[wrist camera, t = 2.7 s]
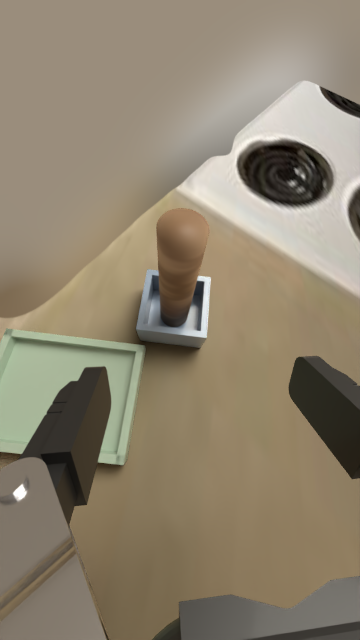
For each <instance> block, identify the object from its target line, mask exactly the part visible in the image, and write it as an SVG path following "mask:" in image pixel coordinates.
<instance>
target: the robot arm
mask: <svg viewBox="0 0 360 640" xmlns="http://www.w3.org/2000/svg"><path fill="white" fill-rule="evenodd" d="M289 394H290V397H291V399H292V400H293V402H294V403H295V404H296V406H297V407H298V408H299V410H300V411H301V412H302V414H303V415H304V416H305V418H306V419H307V420H308V422H309V423H310V424H311V426H312V427H313V428H314V429H315V431H316V432H317V433H318V435H319V436H320V437H321V439H322V440H323V441H324V443H325V444H326V445H327V447H328V448H329V449H330V451H331V452H332V453H333V455H334V456H335V457H336V459H337V460H338V461H339V462H340V464H341V465H342V466H343V468H344V469H345V470H346V472H347V473H348V474H349V476H350V477H351V478H352V479H357V478H360V386H358V385H357V383H356V382H354V381H353V380H352V379H351V378H349V377H348V376H347V375H346V374H344V373H342V372H340V371H338V370H336V369H334V368H332V367H331V366H330V365H329V364H327V363H326V362H325V361H324V360H323V359H321V358H320V357H318V356H306V357H298V358H297V359H296V360H295V363H294V367H293V371H292V375H291V379H290V383H289ZM110 411H111V392H110V386H109V380H108V374H107V369H106V367H105V366H100V367H85V368H84V370H83V372H82V374H81V376H80V378H79V379H78V381H70V382H69V383H68V384H67V385H65V386H64V387H63V388H62V389H61V390H60V391H59V392H58V394H57V396H56V397H55V399H54V401H53V402H52V405H51V406H50V407H49V409H48V411H47V414H46V415H45V416H44V417H43V419H42V421H41V423H40V424H39V426H38V428H37V429H36V431H35V433H34V434H33V436H32V438H31V439H30V441H29V443H28V444H27V446H26V448H25V450H24V451H23V453H22V455H21V456H20V458H19V459H18V460H17V461H14V462H12V463H10V464H8V465H7V466H5V467H4V468H2V469H1V470H0V640H110V638H109V635H108V632H107V629H106V626H105V624H104V621H103V618H102V615H101V613H100V610H99V607H98V605H97V602H96V599H95V596H94V593H93V591H92V588H91V585H90V582H89V579H88V577H87V574H86V571H85V568H84V565H83V563H82V560H81V557H80V554H79V551H78V548H77V546H76V543H75V540H74V537H73V534H72V532H71V529H70V526H69V523H70V520H71V516H72V513H73V510H74V506H80V505H87V502H88V498H89V494H90V490H91V486H92V482H93V478H94V474H95V470H96V466H97V462H98V459H99V455H100V451H101V447H102V443H103V439H104V435H105V431H106V427H107V423H108V419H109V415H110ZM152 640H360V576H357V577H350V578H343V579H336V580H330V581H329V582H327V583H326V584H325V585H323V586H322V587H321V588H319V589H318V590H316V591H315V592H314V593H312V594H311V595H309V596H308V597H307V598H305V599H304V600H302V601H301V602H300V603H298V604H297V605H295V606H294V607H292V608H288V609H285V608H280V607H276V606H273V605H269V604H265V603H261V602H257V601H253V600H250V599H246V598H242V597H238V596H234V595H224V596H217V597H210V598H203V599H196V600H189V601H182V602H179V618H178V619H176V620H175V621H173V622H172V623H170V624H169V625H167V626H166V627H165V628H164V629H163V630H162V631H160V632H159V633H158V634H157V635H156V636H155V637H154V638H153V639H152Z"/></svg>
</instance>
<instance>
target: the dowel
mask: <svg viewBox="0 0 360 640" xmlns="http://www.w3.org/2000/svg"><path fill="white" fill-rule="evenodd" d="M156 228H157V250H158V271H159V292H160V314H161V319H162V321H163V322H164V323H165V324H166V325H168V326H171V327H178V326H181V325H183V324H184V323H185V322H186V320H187V317H188V314H189V310H190V306H191V302H192V298H193V294H194V290H195V287H196V283H197V279H198V275H199V271H200V267H201V263H202V259H203V256H204V252H205V248H206V244H207V240H208V236H209V225H208V223H207V221H206V219H205V218H204V217H203V216H202V215H200V214H199V213H197V212H195V211H193V210H190V209H184V208H178V209H173V210H170V211H167V212H166V213H164V214H163V215H162V216H161V217H160V218H159V220H158V222H157V227H156Z"/></svg>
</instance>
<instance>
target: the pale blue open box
mask: <svg viewBox="0 0 360 640" xmlns="http://www.w3.org/2000/svg"><path fill="white" fill-rule="evenodd" d="M210 280H211V277H204V276H198V279H197V283H196V287H195V290H194V294H193V298H192V302H191V306H190V310H189V314H188V317H187V320H186V322H185V323H184V324H183V325H181V326H178V327H171V326H168V325H166V324H165V323H164V322H163V321H162V319H161V314H160V292H159V271H157V270H149V269H147V274H146V279H145V285H144V290H143V295H142V300H141V305H140V310H139V316H138V321H137V326H136V331H137V333H138V336H139V339H140V341H148V342H156V343H164V344H172V345H181V346H189V347H197V348H201V346H202V345H203V343H204V341H205V340H206V338H207V325H208V310H209V295H210Z"/></svg>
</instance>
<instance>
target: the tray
mask: <svg viewBox="0 0 360 640" xmlns="http://www.w3.org/2000/svg"><path fill="white" fill-rule="evenodd" d="M145 351H146V349H145V346H144V345H137V344H129V343H121V342H113V341H104V340H96V339H88V338H80V337H71V336H63V335H55V334H47V333H39V332H30V331H22V330H14V329H6V331H5V333H4V335H3V338H2V340H1V342H0V452H9V453H18V454H22V453H23V451H24V450H25V448H26V446H27V444H28V443H29V441H30V439H31V438H32V436H33V434H34V433H35V431H36V429H37V428H38V426H39V424H40V423H41V421H42V419H43V417H44V416H45V415H46V414H47V411H48V409H49V407H50V406H51V405H52V402H53V401H54V399H55V397H56V396H57V394H58V392H59V391H60V390H61V389H62V388H63V387H64V386H65V385H67V384H68V383H69V382H70V381H78V379H79V378H80V376H81V374H82V372H83V370H84V368H85V367H100V366H105V367H106V369H107V374H108V380H109V386H110V392H111V411H110V415H109V419H108V423H107V427H106V431H105V435H104V439H103V443H102V447H101V451H100V455H99V459H98V462H99V463H109V464H118V465H124V464H125V462H126V461H127V458H128V452H129V446H130V440H131V434H132V428H133V422H134V416H135V411H136V405H137V399H138V393H139V387H140V381H141V375H142V369H143V363H144V357H145Z"/></svg>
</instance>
